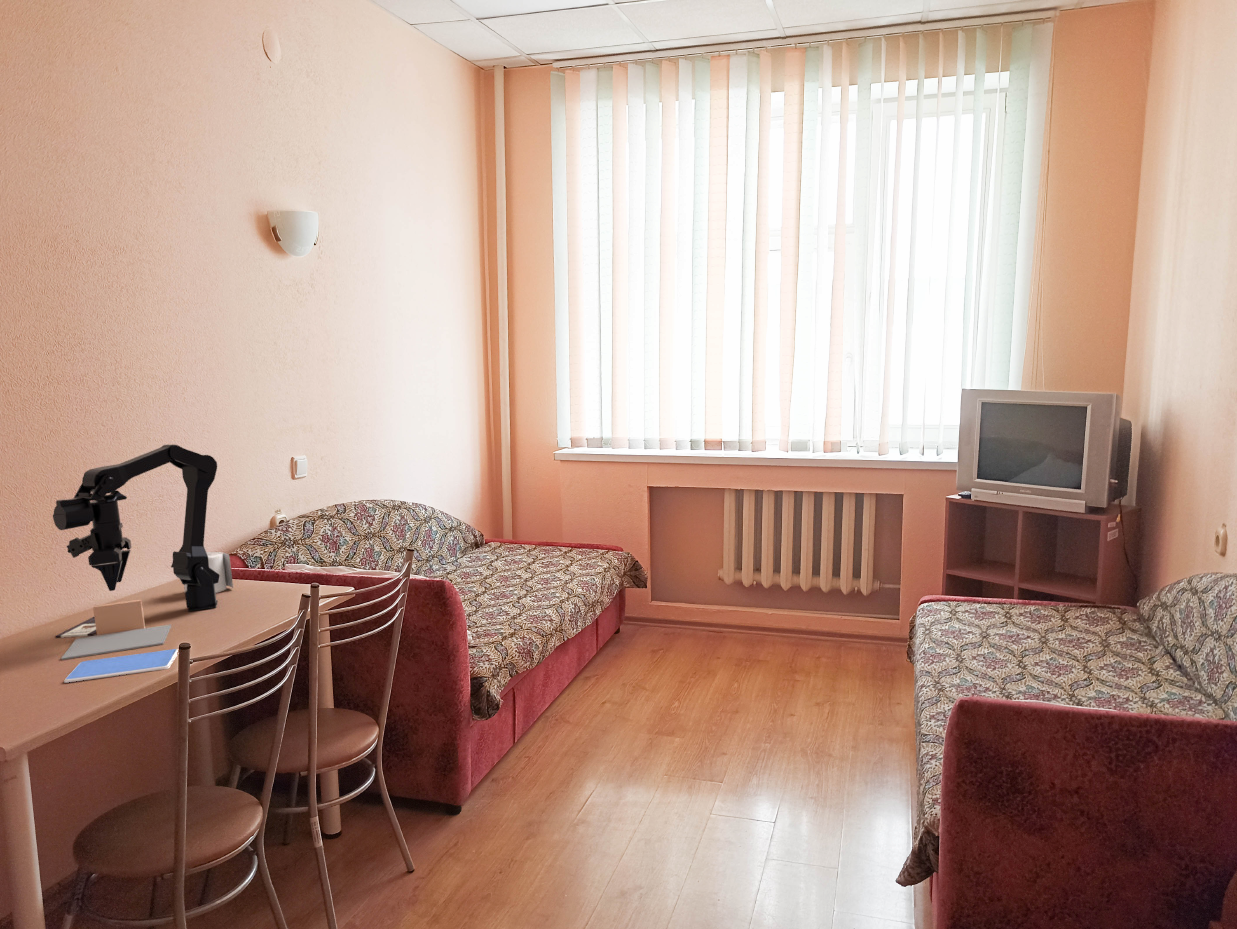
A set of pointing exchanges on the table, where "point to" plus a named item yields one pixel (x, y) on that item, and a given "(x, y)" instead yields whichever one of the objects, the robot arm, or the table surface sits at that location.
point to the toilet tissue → (220, 570)
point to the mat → (117, 642)
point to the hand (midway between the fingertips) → (115, 586)
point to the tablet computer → (122, 665)
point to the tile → (119, 617)
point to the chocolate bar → (80, 629)
